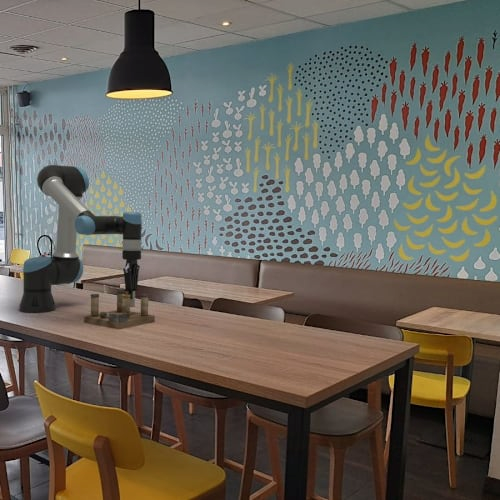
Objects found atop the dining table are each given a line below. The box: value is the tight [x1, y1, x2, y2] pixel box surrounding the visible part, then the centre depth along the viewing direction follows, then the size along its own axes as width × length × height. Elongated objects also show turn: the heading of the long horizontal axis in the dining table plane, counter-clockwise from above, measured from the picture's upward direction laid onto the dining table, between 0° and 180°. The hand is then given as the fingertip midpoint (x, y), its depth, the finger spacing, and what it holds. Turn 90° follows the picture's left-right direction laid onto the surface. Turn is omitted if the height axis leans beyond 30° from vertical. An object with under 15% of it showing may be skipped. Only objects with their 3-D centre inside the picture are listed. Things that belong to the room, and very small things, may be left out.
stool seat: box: [83, 290, 156, 330], centre depth 236 cm, size 20×20×11 cm
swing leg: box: [99, 293, 131, 318], centre depth 232 cm, size 12×3×9 cm, turn 106°
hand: (131, 306), depth 238 cm, fingers closed
